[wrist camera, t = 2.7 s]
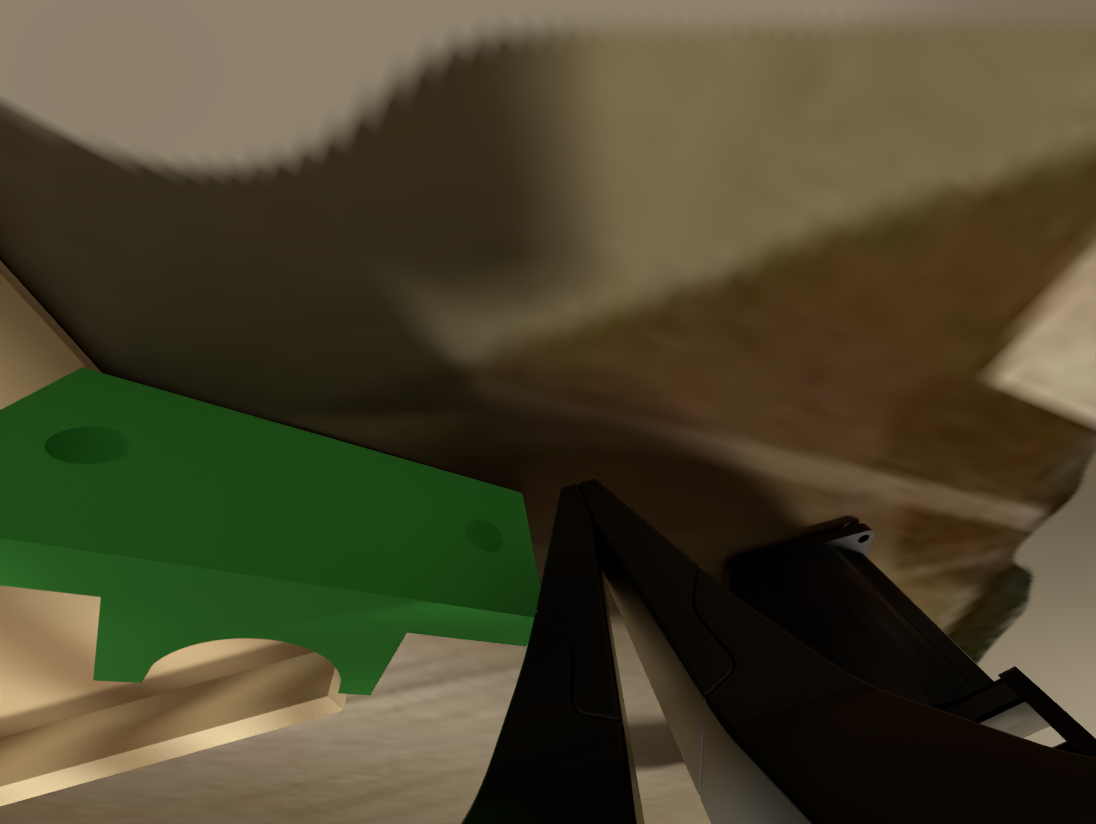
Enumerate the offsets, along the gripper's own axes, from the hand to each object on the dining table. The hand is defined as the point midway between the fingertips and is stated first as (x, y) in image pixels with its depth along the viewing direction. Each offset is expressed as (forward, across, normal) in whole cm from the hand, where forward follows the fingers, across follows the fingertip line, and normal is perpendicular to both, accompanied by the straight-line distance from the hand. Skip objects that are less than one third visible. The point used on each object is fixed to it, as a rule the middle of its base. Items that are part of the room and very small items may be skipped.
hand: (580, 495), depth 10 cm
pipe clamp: (+3, +7, 0) cm, 8 cm away
